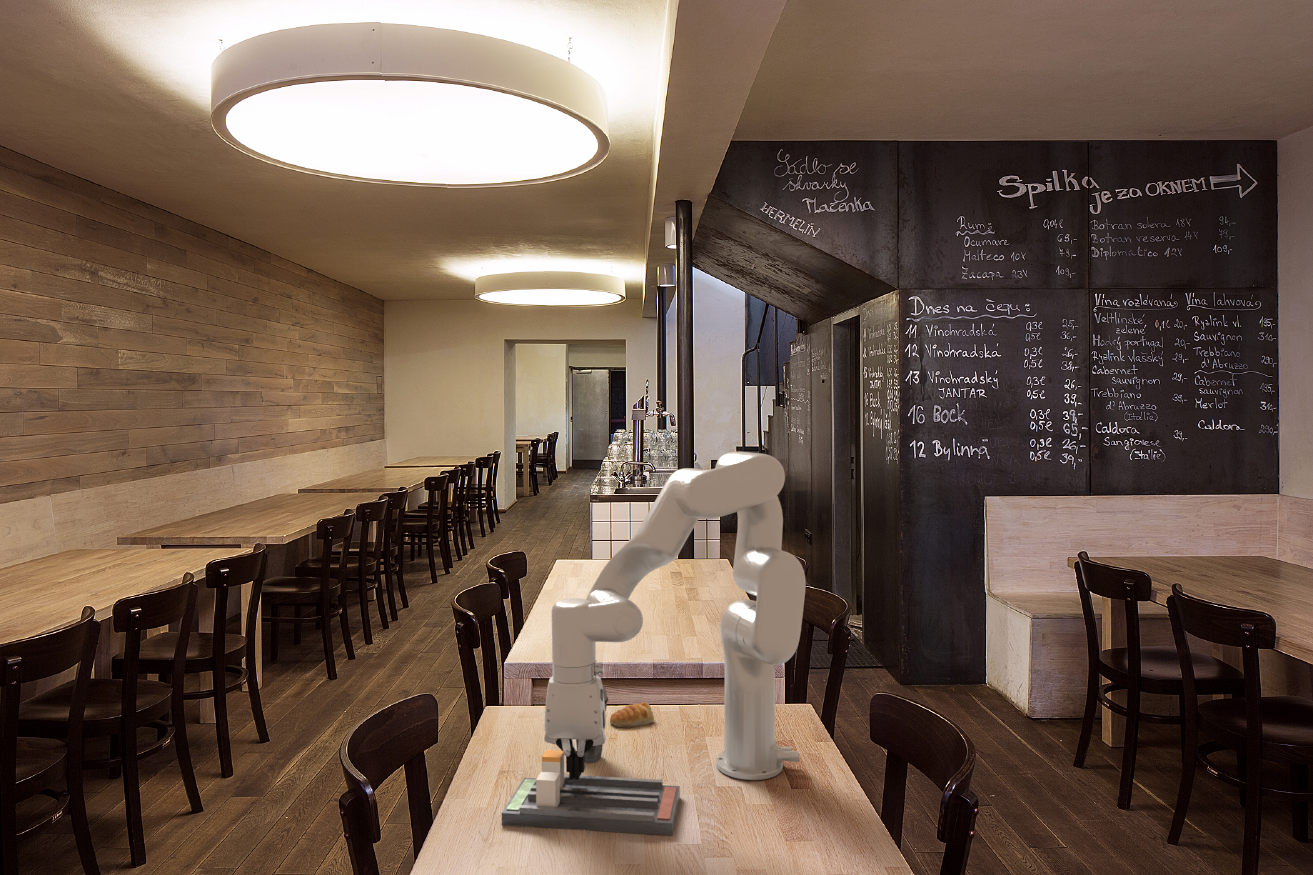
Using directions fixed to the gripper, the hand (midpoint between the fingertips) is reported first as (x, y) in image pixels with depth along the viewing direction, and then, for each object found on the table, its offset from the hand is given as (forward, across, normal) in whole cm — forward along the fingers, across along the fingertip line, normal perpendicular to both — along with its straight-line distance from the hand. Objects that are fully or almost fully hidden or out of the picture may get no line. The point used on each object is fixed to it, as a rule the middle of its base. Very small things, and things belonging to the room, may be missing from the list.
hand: (575, 775), depth 140 cm
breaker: (+2, +3, +7) cm, 8 cm away
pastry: (+5, -5, -37) cm, 38 cm away
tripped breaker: (+2, +4, 0) cm, 5 cm away
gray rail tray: (+4, -4, +4) cm, 7 cm away
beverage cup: (+4, +1, -17) cm, 18 cm away
